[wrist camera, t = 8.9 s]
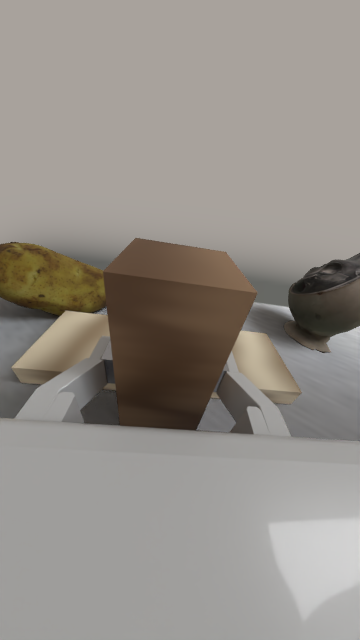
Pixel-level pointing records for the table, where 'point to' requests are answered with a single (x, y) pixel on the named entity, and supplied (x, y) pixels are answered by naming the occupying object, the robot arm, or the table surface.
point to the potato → (49, 280)
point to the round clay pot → (325, 303)
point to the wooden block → (171, 329)
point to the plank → (86, 329)
